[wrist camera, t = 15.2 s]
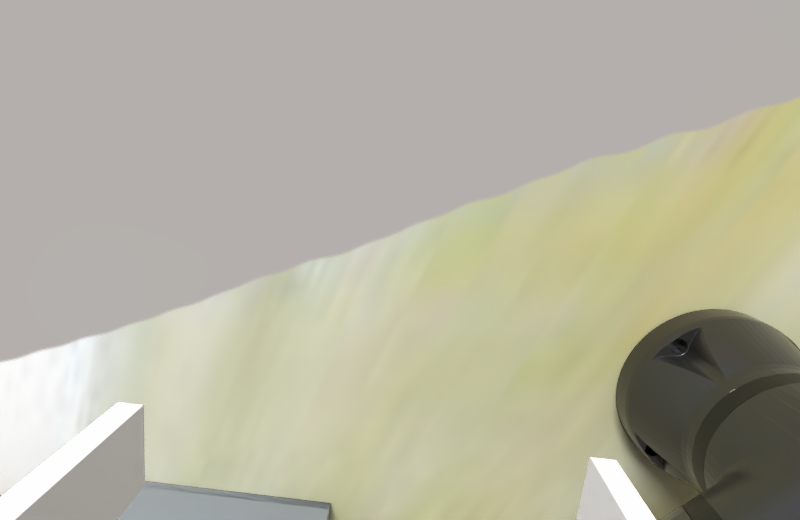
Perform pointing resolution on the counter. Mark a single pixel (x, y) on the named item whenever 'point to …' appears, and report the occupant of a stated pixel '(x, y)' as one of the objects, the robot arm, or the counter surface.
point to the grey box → (217, 505)
